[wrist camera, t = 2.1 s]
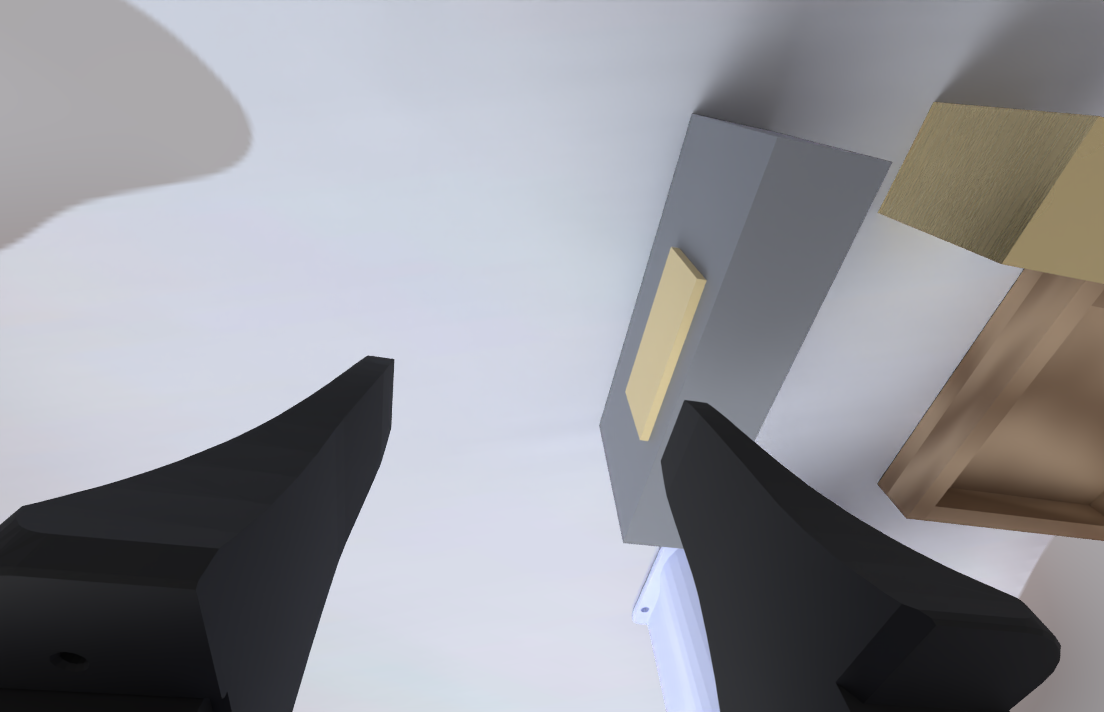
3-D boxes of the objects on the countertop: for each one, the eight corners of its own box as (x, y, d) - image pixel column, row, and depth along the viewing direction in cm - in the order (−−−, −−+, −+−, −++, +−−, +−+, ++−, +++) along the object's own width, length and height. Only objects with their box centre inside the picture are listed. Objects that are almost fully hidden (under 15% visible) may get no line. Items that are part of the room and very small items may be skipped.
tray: (1078, 508, 29) (1121, 542, 27) (877, 484, 27) (906, 518, 25) (1277, 305, 23) (1352, 329, 21) (1032, 257, 21) (1087, 277, 19)
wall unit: (658, 433, 25) (700, 550, 19) (593, 424, 24) (615, 542, 18) (770, 130, 18) (892, 161, 12) (684, 111, 18) (765, 134, 12)
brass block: (965, 230, 20) (1115, 285, 15) (877, 212, 20) (1001, 264, 15) (1029, 124, 19) (1224, 147, 13) (933, 101, 18) (1099, 116, 13)
